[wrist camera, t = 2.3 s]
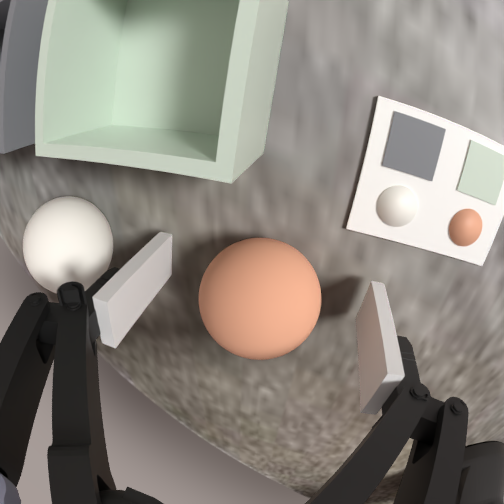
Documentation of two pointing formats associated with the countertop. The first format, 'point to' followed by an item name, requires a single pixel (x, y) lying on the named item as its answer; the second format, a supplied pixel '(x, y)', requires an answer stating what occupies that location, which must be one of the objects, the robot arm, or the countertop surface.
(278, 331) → the ball terracotta
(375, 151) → the card
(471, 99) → the countertop surface
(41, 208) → the ball white
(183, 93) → the sage open box
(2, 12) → the grey open cubby box
